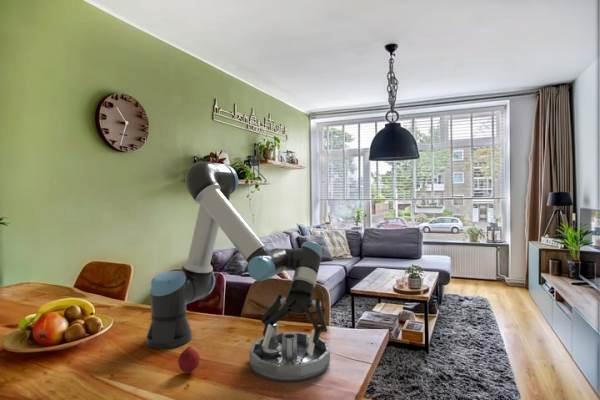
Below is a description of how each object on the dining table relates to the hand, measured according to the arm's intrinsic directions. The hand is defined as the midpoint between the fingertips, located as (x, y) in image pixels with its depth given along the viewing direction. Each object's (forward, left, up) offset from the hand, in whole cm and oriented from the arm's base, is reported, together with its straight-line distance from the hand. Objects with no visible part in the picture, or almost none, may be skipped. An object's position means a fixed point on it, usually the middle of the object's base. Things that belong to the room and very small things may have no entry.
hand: (286, 351), depth 101 cm
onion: (-28, +3, -7) cm, 29 cm away
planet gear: (+1, +2, -6) cm, 6 cm away
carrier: (+1, +9, -7) cm, 11 cm away
